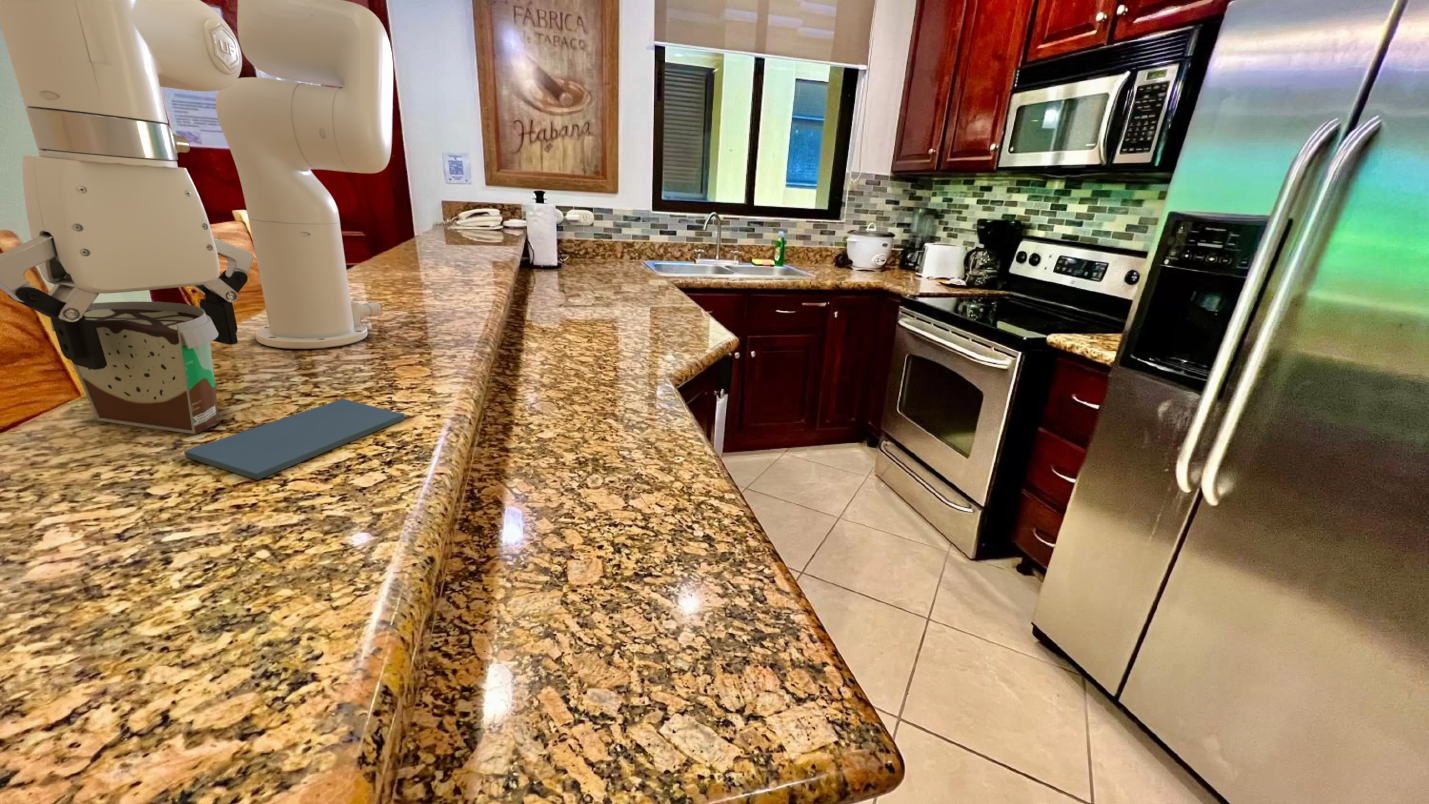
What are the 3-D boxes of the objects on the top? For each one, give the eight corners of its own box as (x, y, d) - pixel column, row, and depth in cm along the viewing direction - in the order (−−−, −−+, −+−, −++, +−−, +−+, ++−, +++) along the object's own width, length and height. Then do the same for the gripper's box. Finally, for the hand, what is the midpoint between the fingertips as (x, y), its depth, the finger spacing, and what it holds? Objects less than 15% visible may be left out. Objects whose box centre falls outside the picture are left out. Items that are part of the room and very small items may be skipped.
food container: (271, 411, 54) (251, 310, 50) (211, 436, 48) (183, 324, 44) (154, 395, 55) (126, 294, 51) (81, 418, 49) (44, 306, 45)
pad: (343, 403, 57) (342, 398, 57) (405, 419, 55) (404, 413, 55) (185, 457, 44) (183, 450, 44) (257, 480, 42) (255, 473, 42)
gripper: (201, 152, 52) (238, 329, 58) (-101, 122, 36) (-9, 369, 42) (259, 158, 50) (291, 340, 56) (-34, 129, 34) (53, 387, 40)
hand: (162, 353), depth 49 cm, fingers open, 9 cm apart
